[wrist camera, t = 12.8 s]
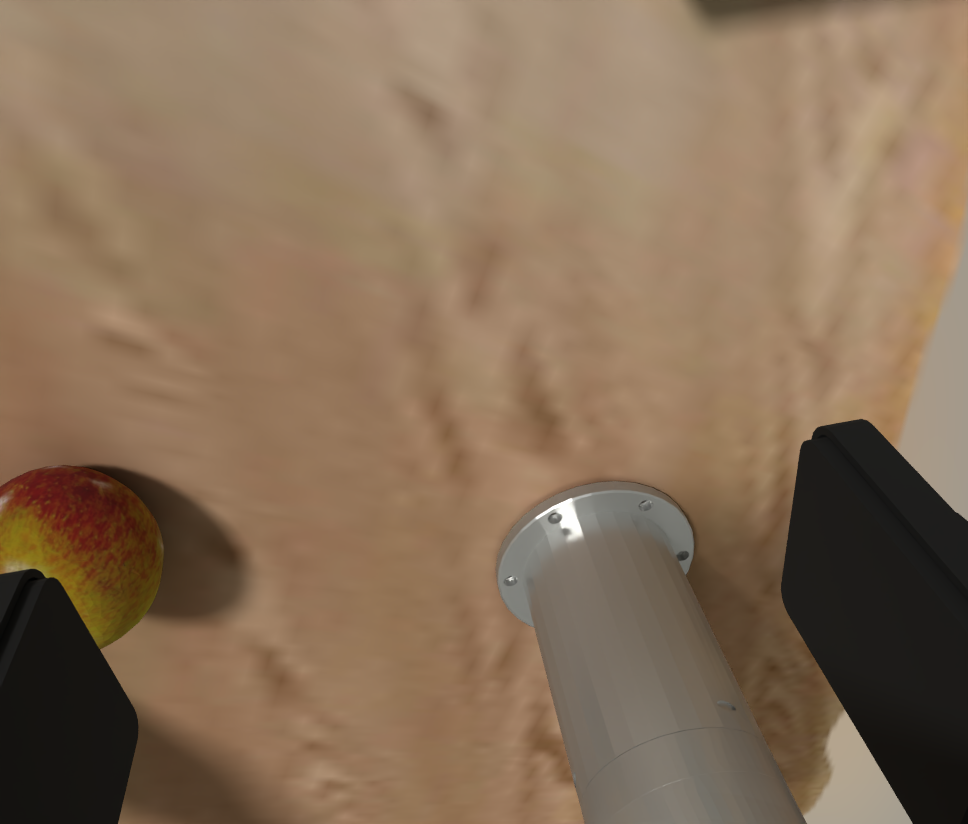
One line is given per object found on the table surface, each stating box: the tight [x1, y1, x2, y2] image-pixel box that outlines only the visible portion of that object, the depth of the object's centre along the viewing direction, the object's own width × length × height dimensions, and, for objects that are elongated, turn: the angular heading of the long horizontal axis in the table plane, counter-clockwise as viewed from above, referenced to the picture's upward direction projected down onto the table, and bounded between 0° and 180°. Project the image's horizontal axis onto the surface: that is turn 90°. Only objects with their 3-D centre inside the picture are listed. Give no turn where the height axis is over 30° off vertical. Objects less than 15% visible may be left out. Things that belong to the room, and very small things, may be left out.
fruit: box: [0, 465, 164, 649], centre depth 40 cm, size 10×9×8 cm
